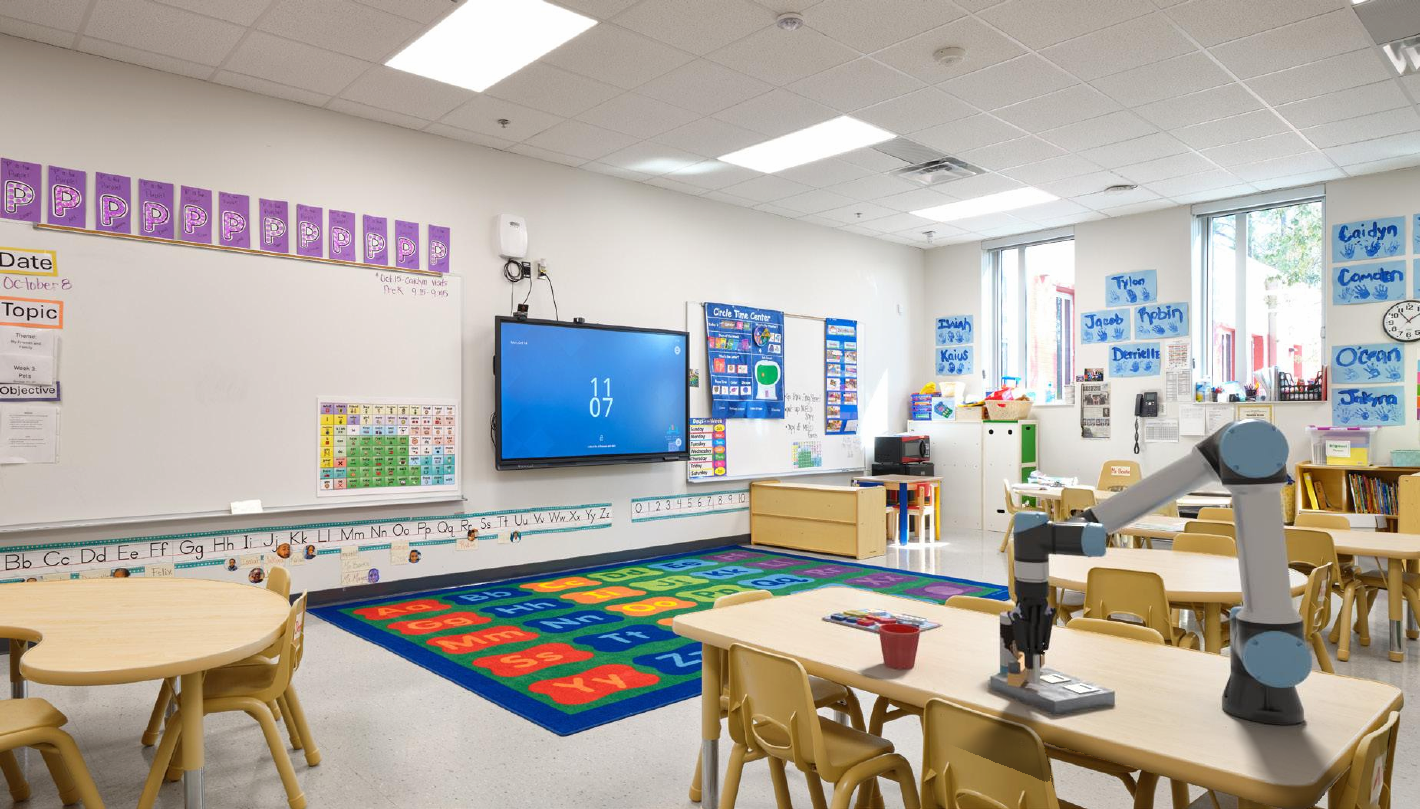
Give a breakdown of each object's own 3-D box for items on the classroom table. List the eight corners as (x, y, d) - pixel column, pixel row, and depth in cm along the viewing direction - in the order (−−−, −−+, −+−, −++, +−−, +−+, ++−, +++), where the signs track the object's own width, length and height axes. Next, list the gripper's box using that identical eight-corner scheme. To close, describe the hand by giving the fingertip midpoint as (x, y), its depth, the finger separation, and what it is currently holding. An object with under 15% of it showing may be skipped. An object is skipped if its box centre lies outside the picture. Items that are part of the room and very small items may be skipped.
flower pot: (928, 664, 221) (927, 627, 221) (906, 673, 213) (906, 635, 213) (892, 656, 228) (892, 621, 229) (870, 665, 220) (870, 628, 221)
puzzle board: (943, 628, 264) (943, 619, 264) (898, 640, 249) (898, 631, 249) (866, 611, 287) (866, 603, 287) (821, 621, 272) (821, 613, 272)
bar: (1022, 660, 209) (1022, 640, 209) (1044, 663, 206) (1044, 642, 206) (1001, 684, 189) (1001, 662, 189) (1025, 688, 187) (1025, 665, 187)
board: (1114, 704, 190) (1114, 668, 190) (1055, 715, 183) (1054, 678, 183) (1046, 679, 208) (1046, 647, 209) (990, 688, 201) (990, 655, 201)
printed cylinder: (1014, 679, 209) (1014, 618, 209) (994, 672, 215) (993, 613, 215) (1033, 675, 212) (1033, 615, 212) (1012, 668, 218) (1012, 610, 218)
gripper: (1040, 574, 199) (1042, 674, 198) (998, 578, 194) (999, 681, 193) (1065, 579, 192) (1067, 683, 191) (1022, 584, 187) (1023, 690, 186)
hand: (1033, 682), depth 192 cm, fingers closed
